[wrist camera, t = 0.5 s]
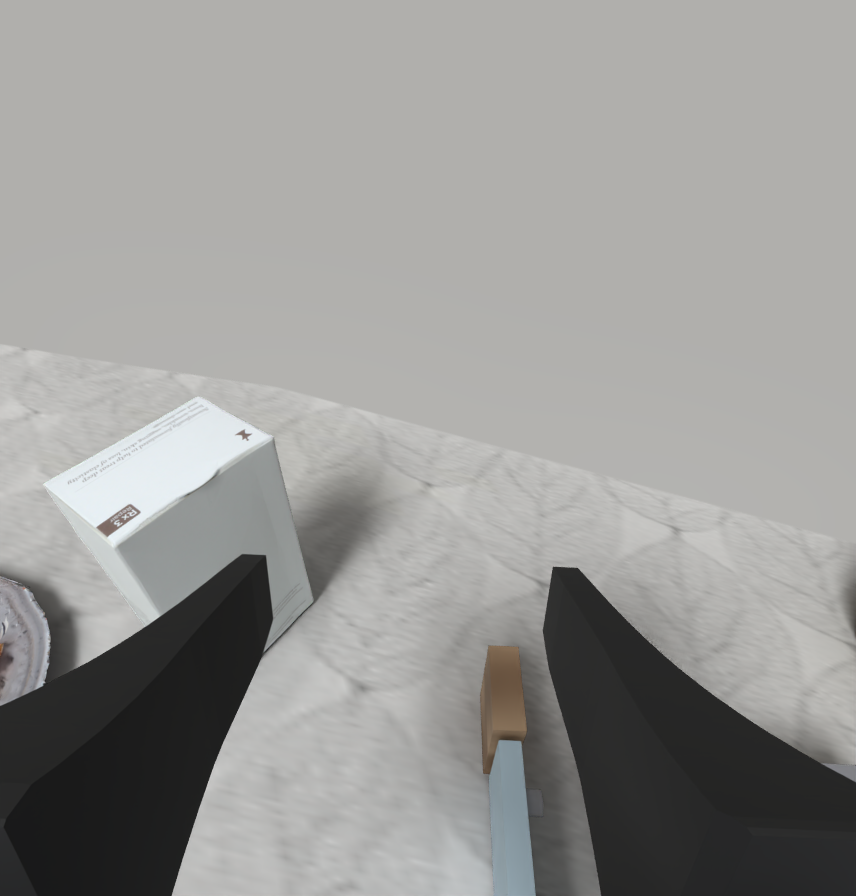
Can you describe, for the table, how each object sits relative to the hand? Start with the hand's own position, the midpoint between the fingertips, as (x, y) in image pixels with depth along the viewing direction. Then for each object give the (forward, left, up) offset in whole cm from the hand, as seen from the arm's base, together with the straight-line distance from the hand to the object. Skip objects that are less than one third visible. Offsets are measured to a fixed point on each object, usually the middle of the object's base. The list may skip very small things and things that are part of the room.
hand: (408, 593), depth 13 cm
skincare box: (+9, +12, -19) cm, 24 cm away
